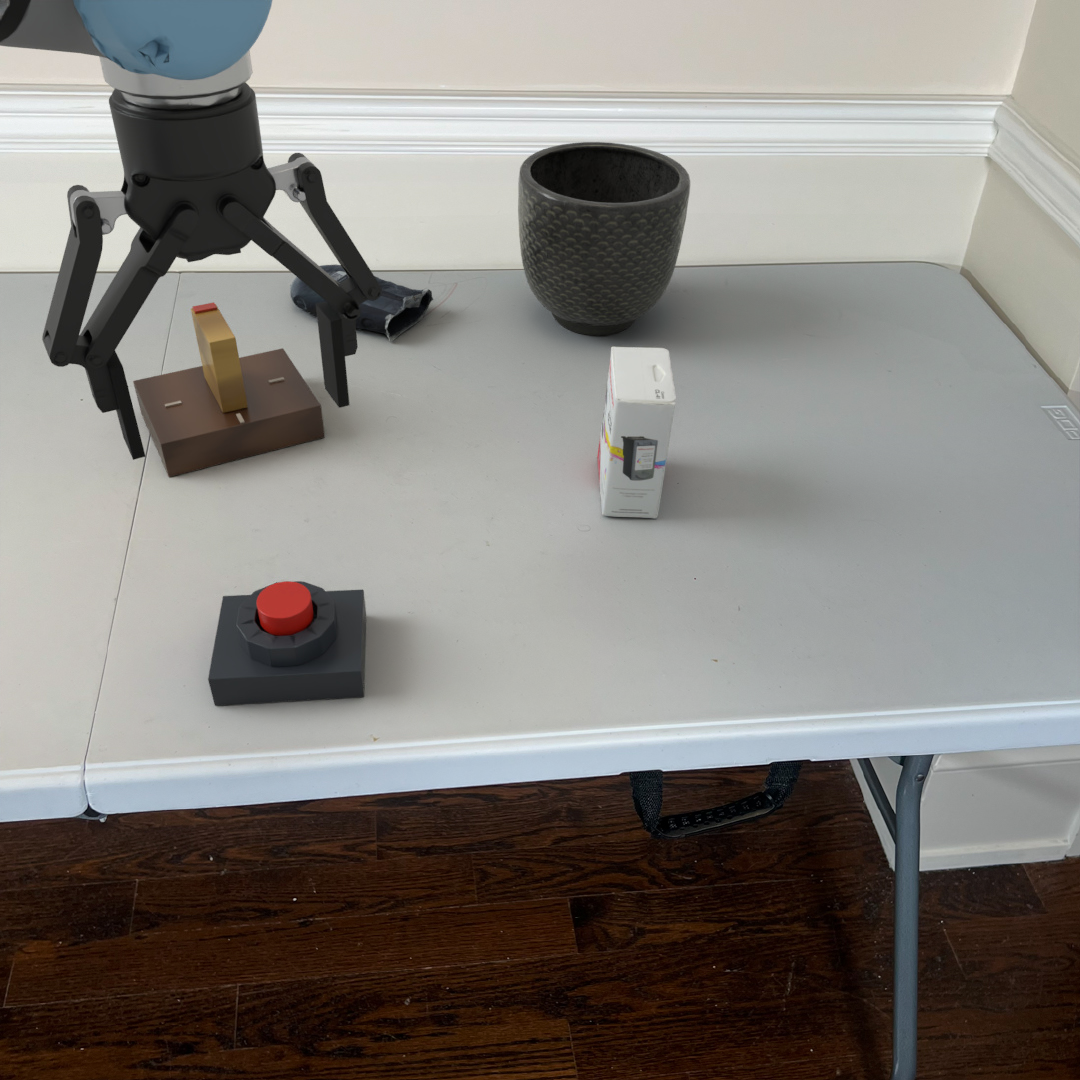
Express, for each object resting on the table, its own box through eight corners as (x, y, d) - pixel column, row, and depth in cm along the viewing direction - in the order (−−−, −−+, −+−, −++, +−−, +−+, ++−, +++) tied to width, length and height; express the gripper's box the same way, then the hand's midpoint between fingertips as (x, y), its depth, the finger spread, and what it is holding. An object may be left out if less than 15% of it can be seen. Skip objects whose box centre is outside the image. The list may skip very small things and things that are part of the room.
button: (257, 637, 69) (253, 619, 68) (262, 600, 72) (259, 582, 71) (312, 635, 69) (309, 616, 68) (315, 598, 72) (312, 579, 71)
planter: (531, 362, 105) (537, 210, 95) (502, 284, 118) (504, 143, 108) (692, 350, 108) (715, 202, 98) (647, 276, 121) (663, 138, 111)
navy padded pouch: (437, 319, 114) (326, 269, 118) (437, 278, 110) (323, 227, 113) (388, 365, 109) (274, 311, 112) (387, 324, 104) (268, 269, 108)
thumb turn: (248, 407, 91) (235, 334, 86) (223, 413, 90) (208, 340, 85) (228, 372, 95) (215, 300, 90) (204, 377, 94) (189, 305, 90)
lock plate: (168, 477, 89) (160, 442, 86) (141, 413, 96) (132, 379, 94) (325, 437, 94) (321, 403, 92) (287, 379, 101) (282, 346, 99)
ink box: (596, 458, 93) (606, 342, 85) (652, 460, 93) (667, 344, 85) (600, 519, 86) (612, 400, 79) (660, 521, 86) (678, 402, 79)
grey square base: (214, 706, 70) (202, 660, 67) (228, 622, 76) (218, 577, 73) (364, 697, 71) (358, 652, 68) (366, 615, 77) (361, 570, 74)
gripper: (373, 43, 62) (391, 354, 76) (-88, 92, 52) (29, 439, 66) (425, 79, 57) (435, 404, 71) (-72, 140, 47) (50, 504, 61)
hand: (239, 421), depth 68 cm, fingers open, 13 cm apart
